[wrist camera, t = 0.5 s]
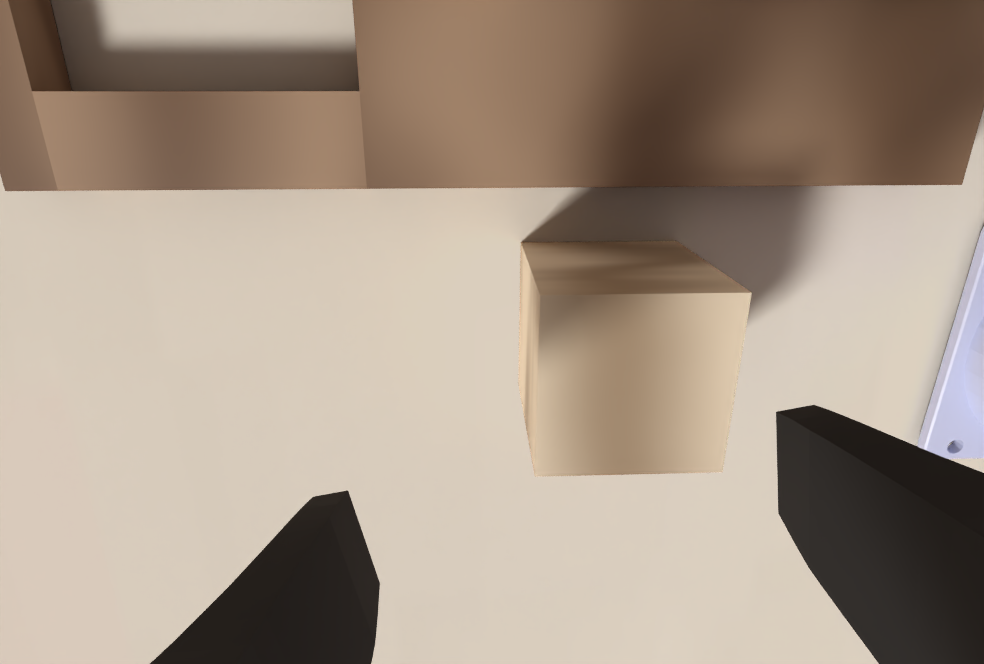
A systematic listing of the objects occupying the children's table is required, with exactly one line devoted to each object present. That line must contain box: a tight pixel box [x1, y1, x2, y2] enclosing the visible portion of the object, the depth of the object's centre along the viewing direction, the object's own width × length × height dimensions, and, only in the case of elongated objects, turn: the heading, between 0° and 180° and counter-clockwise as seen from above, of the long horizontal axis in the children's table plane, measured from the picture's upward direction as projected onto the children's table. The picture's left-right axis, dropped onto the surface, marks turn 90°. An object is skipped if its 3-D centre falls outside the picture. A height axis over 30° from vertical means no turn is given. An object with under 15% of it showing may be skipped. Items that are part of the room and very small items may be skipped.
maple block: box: [518, 241, 752, 477], centre depth 16 cm, size 4×4×5 cm
